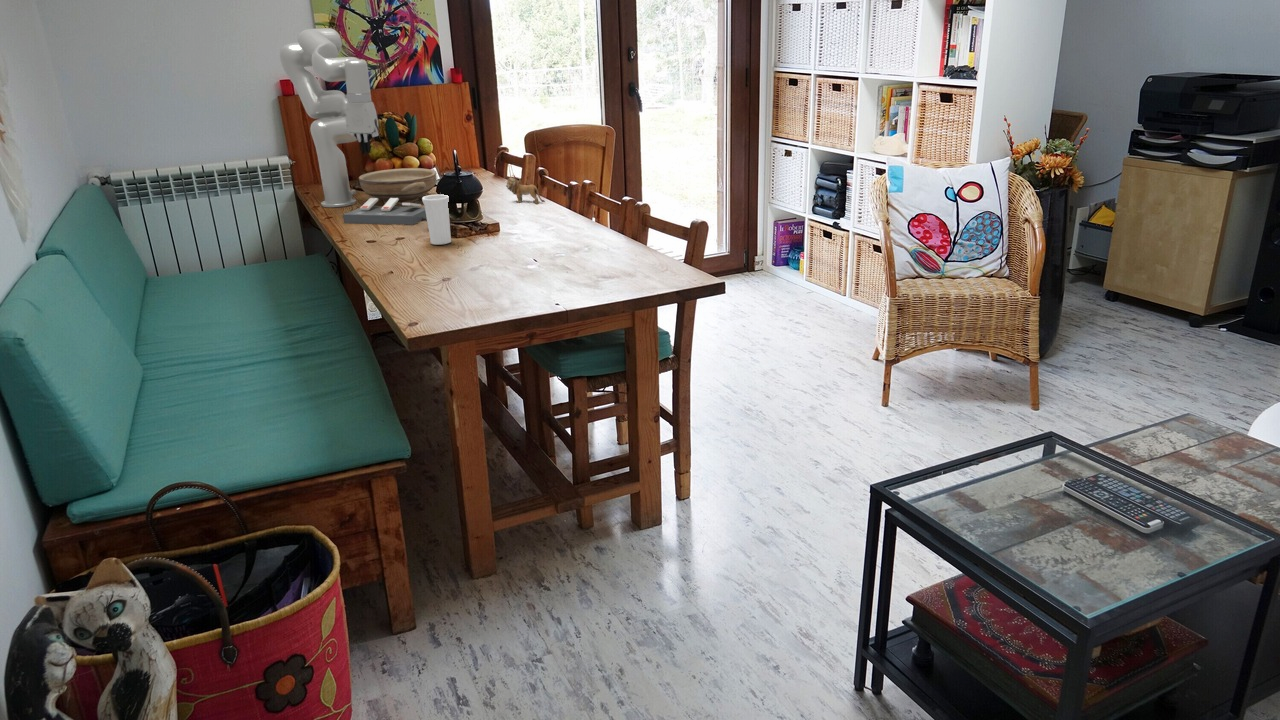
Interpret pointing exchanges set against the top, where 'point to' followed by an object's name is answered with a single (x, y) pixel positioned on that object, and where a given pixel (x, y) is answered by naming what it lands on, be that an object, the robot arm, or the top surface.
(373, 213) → the grey switch panel
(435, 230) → the cup
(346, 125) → the robot arm
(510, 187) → the lion figurine
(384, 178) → the ceramic bowl
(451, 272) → the top surface
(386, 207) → the middle rocker
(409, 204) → the block
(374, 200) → the far-end rocker
